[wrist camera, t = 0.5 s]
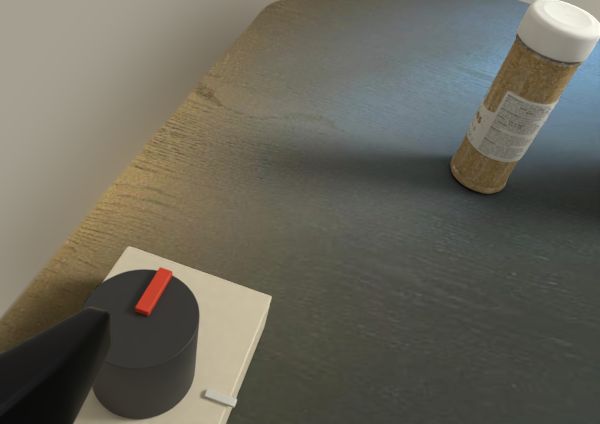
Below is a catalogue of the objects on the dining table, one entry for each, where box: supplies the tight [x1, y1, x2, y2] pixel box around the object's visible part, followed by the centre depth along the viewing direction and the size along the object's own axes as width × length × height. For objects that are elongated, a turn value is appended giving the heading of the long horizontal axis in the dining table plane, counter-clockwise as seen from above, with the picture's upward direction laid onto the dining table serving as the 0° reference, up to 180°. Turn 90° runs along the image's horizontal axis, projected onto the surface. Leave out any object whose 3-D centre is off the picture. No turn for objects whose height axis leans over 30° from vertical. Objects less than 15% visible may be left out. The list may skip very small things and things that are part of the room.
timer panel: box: [73, 246, 271, 424], centre depth 25 cm, size 12×9×3 cm
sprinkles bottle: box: [450, 0, 600, 194], centre depth 38 cm, size 5×5×14 cm
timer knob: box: [82, 267, 200, 419], centre depth 22 cm, size 4×4×5 cm
